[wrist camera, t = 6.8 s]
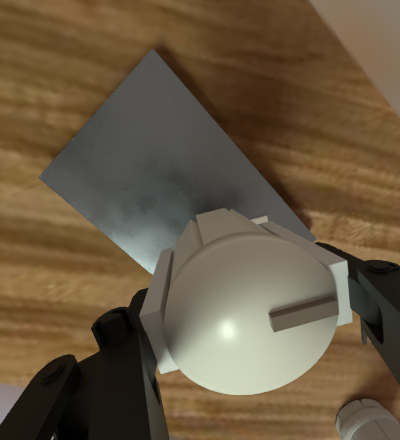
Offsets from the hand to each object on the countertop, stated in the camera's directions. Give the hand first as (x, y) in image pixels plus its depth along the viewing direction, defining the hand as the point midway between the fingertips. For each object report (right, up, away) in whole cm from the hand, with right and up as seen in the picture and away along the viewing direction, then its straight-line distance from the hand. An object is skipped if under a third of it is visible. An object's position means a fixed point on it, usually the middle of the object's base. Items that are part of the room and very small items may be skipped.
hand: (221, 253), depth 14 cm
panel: (-3, +4, +6) cm, 7 cm away
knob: (0, 0, 0) cm, 0 cm away
